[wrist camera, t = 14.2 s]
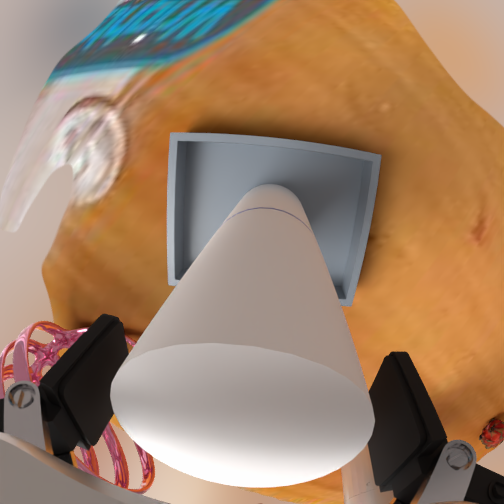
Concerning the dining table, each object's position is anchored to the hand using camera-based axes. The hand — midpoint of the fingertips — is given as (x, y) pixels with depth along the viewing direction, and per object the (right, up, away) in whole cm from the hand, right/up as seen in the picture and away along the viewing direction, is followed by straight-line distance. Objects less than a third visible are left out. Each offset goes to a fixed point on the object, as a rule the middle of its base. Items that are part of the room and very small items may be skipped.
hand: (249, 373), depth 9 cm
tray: (+2, +8, +21) cm, 23 cm away
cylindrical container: (+2, +8, +21) cm, 22 cm away
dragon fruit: (+65, -43, +34) cm, 86 cm away
